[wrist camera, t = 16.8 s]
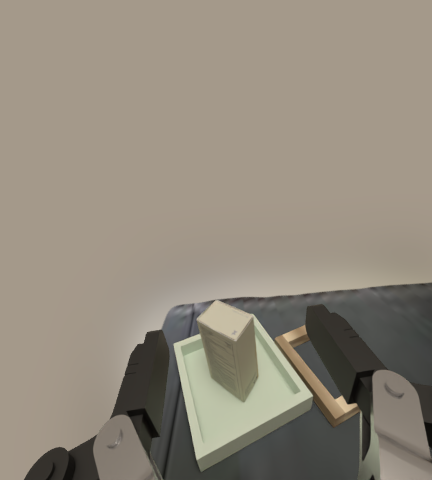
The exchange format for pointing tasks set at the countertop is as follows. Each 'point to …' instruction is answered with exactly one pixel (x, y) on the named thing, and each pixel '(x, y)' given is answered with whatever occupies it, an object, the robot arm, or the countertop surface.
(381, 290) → the countertop surface
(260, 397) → the sage tray
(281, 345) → the wooden frame
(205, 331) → the skincare box
